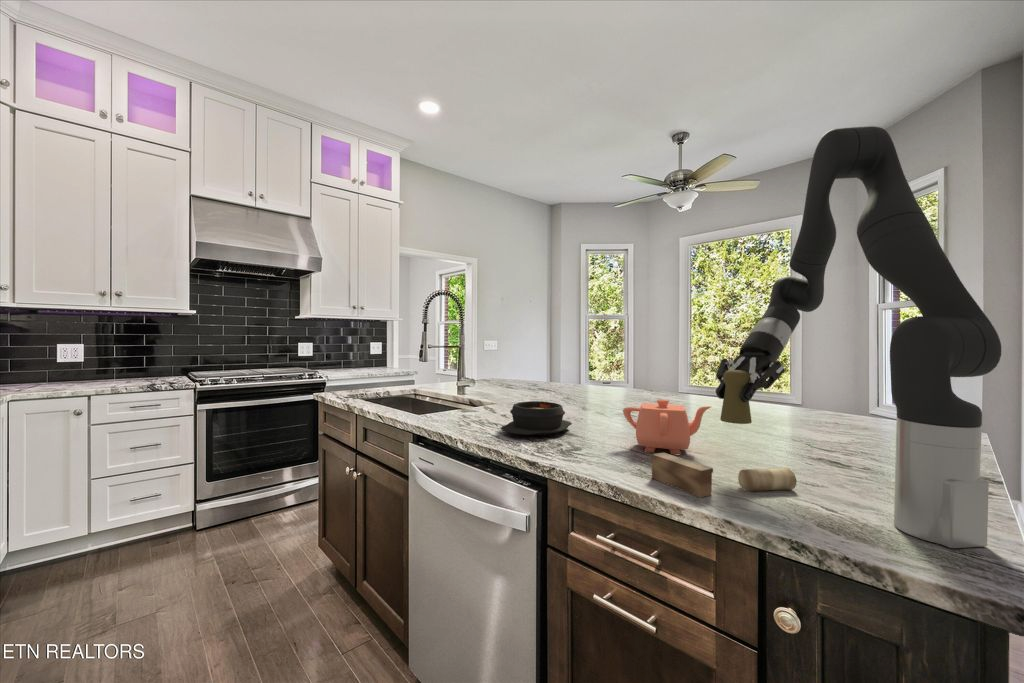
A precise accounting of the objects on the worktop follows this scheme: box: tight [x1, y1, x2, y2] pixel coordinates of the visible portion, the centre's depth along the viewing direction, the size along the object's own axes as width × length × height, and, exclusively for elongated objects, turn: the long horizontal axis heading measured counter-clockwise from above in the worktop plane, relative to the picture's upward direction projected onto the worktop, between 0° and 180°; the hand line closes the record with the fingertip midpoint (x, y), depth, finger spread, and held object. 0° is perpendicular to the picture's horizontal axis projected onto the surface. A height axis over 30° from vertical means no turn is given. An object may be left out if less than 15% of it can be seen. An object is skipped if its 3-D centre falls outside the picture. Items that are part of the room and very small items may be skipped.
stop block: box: [651, 452, 714, 498], centre depth 85 cm, size 12×3×5 cm, turn 27°
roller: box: [737, 467, 798, 492], centre depth 84 cm, size 9×4×4 cm
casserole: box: [500, 400, 573, 436], centre depth 132 cm, size 25×19×8 cm
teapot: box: [622, 399, 713, 455], centre depth 113 cm, size 17×16×13 cm
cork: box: [719, 370, 753, 425], centre depth 92 cm, size 6×6×11 cm
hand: (730, 397), depth 92 cm, fingers closed on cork, 5 cm apart
